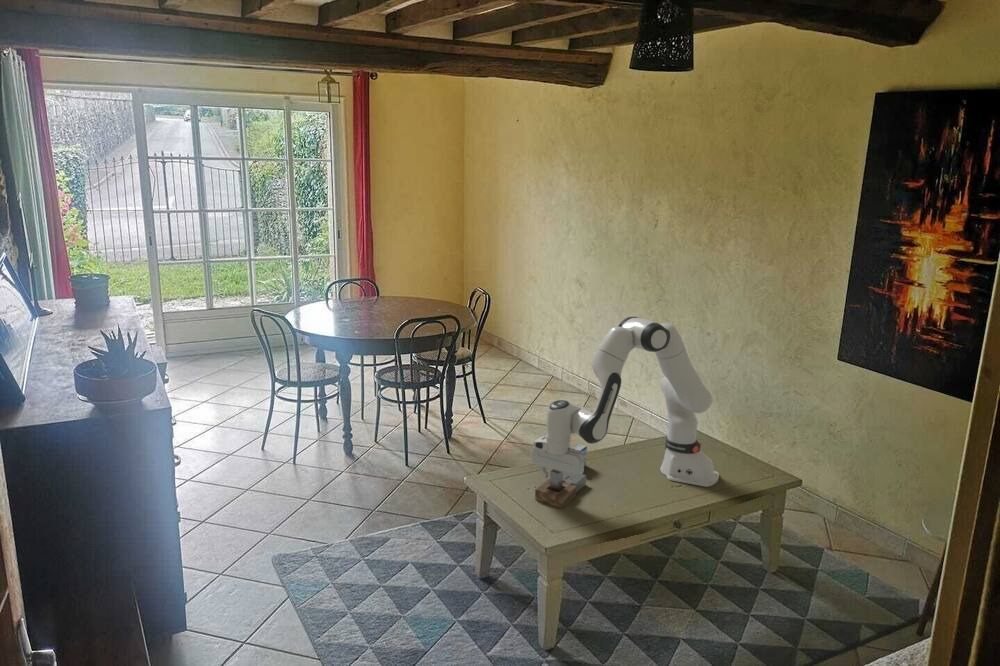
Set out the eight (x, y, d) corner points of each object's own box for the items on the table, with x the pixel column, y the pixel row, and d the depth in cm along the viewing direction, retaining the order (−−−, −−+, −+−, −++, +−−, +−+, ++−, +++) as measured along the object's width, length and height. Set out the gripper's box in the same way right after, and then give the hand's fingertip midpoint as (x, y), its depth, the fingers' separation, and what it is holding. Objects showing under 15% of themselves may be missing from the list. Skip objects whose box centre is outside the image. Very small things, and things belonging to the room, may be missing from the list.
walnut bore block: (575, 495, 263) (576, 485, 262) (561, 507, 254) (562, 497, 253) (549, 487, 269) (550, 478, 268) (535, 499, 260) (535, 489, 259)
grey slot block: (585, 484, 272) (586, 475, 270) (574, 494, 264) (575, 484, 263) (564, 478, 276) (565, 469, 275) (553, 487, 269) (553, 477, 268)
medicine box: (577, 472, 281) (578, 452, 279) (567, 470, 284) (568, 449, 282) (586, 465, 288) (587, 445, 286) (576, 462, 290) (577, 443, 288)
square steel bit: (562, 495, 262) (563, 470, 259) (557, 498, 259) (558, 473, 256) (553, 492, 263) (554, 467, 261) (549, 496, 261) (550, 471, 258)
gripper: (587, 448, 253) (586, 484, 257) (538, 435, 264) (537, 469, 267) (579, 455, 248) (578, 491, 252) (529, 441, 259) (528, 476, 262)
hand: (556, 480), depth 260 cm, fingers open, 8 cm apart
